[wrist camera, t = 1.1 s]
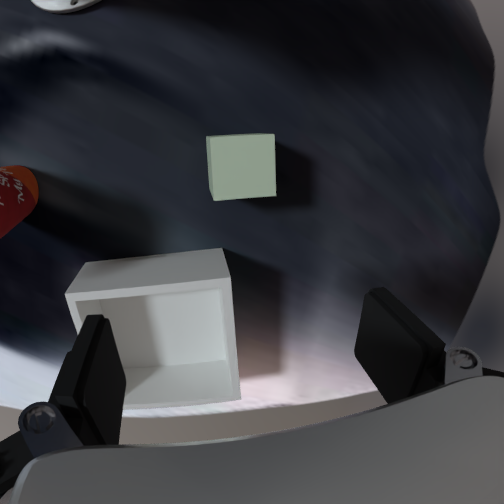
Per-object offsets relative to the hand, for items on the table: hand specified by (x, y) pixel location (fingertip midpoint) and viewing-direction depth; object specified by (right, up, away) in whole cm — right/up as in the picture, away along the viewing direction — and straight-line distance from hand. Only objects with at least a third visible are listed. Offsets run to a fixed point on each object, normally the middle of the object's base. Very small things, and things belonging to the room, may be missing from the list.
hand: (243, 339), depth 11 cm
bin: (-10, -4, +24) cm, 26 cm away
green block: (-1, +12, +19) cm, 23 cm away
